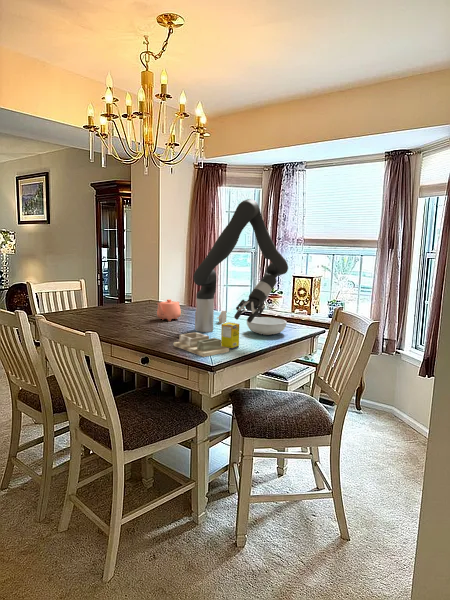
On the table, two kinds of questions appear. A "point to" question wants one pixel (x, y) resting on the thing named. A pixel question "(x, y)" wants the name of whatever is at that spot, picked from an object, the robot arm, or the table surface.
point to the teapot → (168, 310)
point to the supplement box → (230, 335)
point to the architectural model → (222, 317)
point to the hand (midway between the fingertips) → (241, 319)
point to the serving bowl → (267, 325)
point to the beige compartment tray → (200, 344)
